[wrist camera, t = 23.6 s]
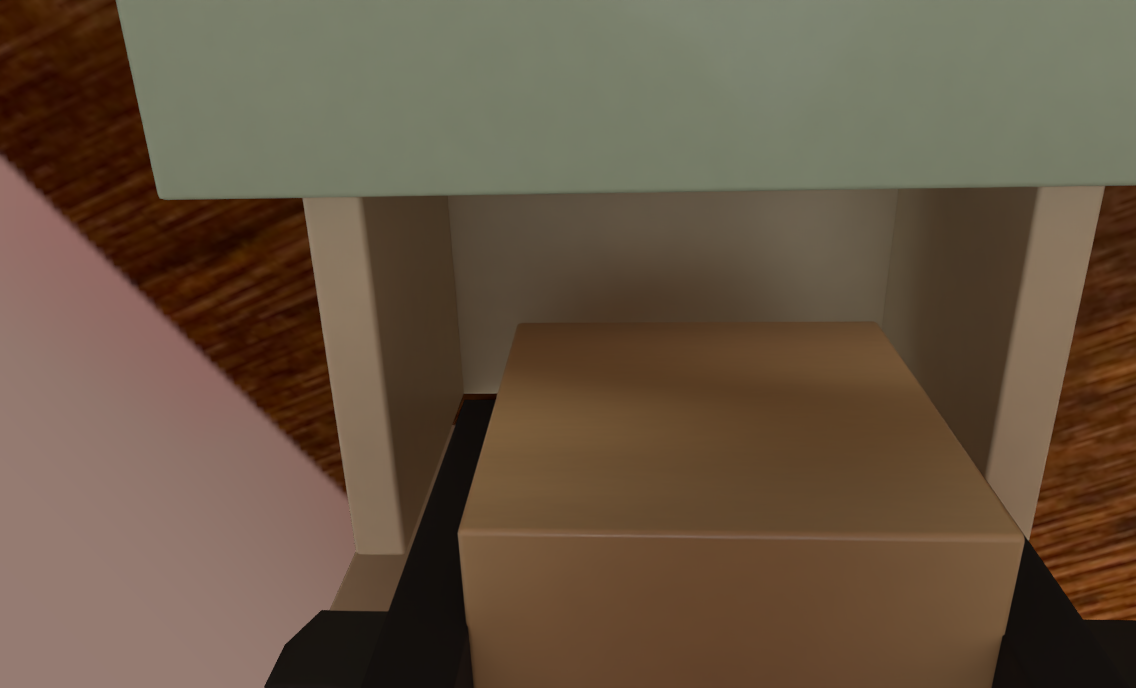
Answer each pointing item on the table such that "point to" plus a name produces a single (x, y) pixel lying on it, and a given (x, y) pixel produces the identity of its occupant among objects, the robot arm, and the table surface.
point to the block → (728, 516)
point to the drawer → (685, 311)
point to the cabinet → (630, 95)
